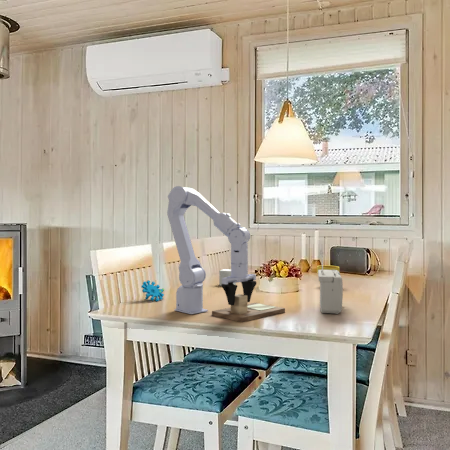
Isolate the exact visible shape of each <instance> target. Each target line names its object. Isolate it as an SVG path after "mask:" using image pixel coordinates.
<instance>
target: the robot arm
mask: <svg viewBox="0 0 450 450" xmlns="http://www.w3.org/2000/svg"><path fill="white" fill-rule="evenodd" d="M167 198H168V206H167V212H166V213H167V218H168V222H169V225H170V229H171V232H172V236H173V238H174V243H175V246H176V249H177V253H178V256H179V260H180V263H179V266H178V270H179V271H178V272H179V275H178V281H179V282H180V284H181V285H180V286H178V288H177V290H176V293H175V295H176V296H175V298H176V299H175V308H174V312H175V311H176V312H180V313H183V314H189V315H195V314H201V313H205V312H209V310H208V309H207V308H206V309H205V308H203V307H204V305H203V304H204V303H203V301H204V300H203V296H204V294H203V293H204V292H203V290H204V286H203V285H204V284H203V282H204V281H205V280H206V276H207V274H206V270H205V269H204V267H203V266H202V265H201V262H200V260H199V259H198V258H197V257H196V253H195V251H194V247H193V244H192V241H191V237H190V234H189V230H188V227H187V223H186V220H185V214H186V212H187V210H188V209H189V208H190V207H191V206H193V207H194V206H195V207H196V208H198V209H199V210H200V211H202V212H203V213H204V214H206V216H208V217H209V218H211V219H212V222H213V227H215V228H216V229H218V230H219V231H220V232H221V233H222V234H223V235H224V236H225V237H226V238H227V239H228V242H229V243H230V269H231V276H229V277H225V278H222V286H221V287H222V289H223V291H224V293H225V296H226V300H227V303H228V304H227V305H228V306H231V305H234V303H235V295H236V293H237V292H236V291H237V288H238V285H237V283H241V286H242V292H243V293H242V295H247V303H250V302H251V299H252V295H253V291H254V289H255V287H256V286H257V281H256V280H257V275H256V274H253V273H249V272H248V271H249V263H248V262H249V256H248V255H249V250H248V249H249V247H248V246H249V245H248V244H249V243H248V242H249V241H250V239H251V233H250V231H249V230H248V228H247V227H243V226H242V225H241V223H239V222H236V221H235V220H234V219H233V218H232V217H231V216H232V215H231V214H230V213H226V212H219V211H218V209H216V208H215V207H214V206H213V205H212V204H211V202H209V201H208V200H207V199H206V198H205V197H204V196H203V195H202V194H201V193H200V192H198V190H196V188H195V189H194V188H193V187H189V186H188V187H187V186H180V185H176V186H174V187H172V188H171V189H170V192H169V193H168V195H167ZM248 273H249V274H248ZM233 283H236V285H234V284H233Z"/></svg>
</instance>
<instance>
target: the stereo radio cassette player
mask: <svg viewBox="0 0 450 450" xmlns="http://www.w3.org/2000/svg"><path fill="white" fill-rule="evenodd" d="M323 253H324V252H323V251H321V254H323ZM323 256H324V255H321V265H322V270H318V273H317V276H318V282H319V281H320V282H319V306H320V313H321V314H335V315H338V314H340V313H341V312H342V311H343V300H344V299H343V295H344V294H343V293H344V292H343V291H344V290H343V288H344V287H343V278H342V276H341V273H340V271H337V270H323V265H324V258H323Z"/></svg>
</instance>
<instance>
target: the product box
mask: <svg viewBox="0 0 450 450" xmlns="http://www.w3.org/2000/svg"><path fill="white" fill-rule="evenodd" d="M218 274H219V276H218V279H219V286H221V287H222V278H225V277H229V276H231V268H230V269H229V268H228V269H227V268H223V269H220V270H219V273H218ZM233 284H234V285H237V282H236V283H233Z"/></svg>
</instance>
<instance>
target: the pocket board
mask: <svg viewBox="0 0 450 450" xmlns="http://www.w3.org/2000/svg"><path fill="white" fill-rule="evenodd" d="M283 313H286V308H285V307H280V306H274V305H269V304H265V303H259V302H251V303H247V313H244V314H235V313H231V306H230V307H227V308H221V309H215V310H212V311H211V316H215V317H217V318H218V317H219V318H222V319H227V320H230V321H236V322H240V323H243V322H244V323H245V322H248V321H252V320H257V319H262V318H265V317H270V316H276V315H279V314H283Z"/></svg>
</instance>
